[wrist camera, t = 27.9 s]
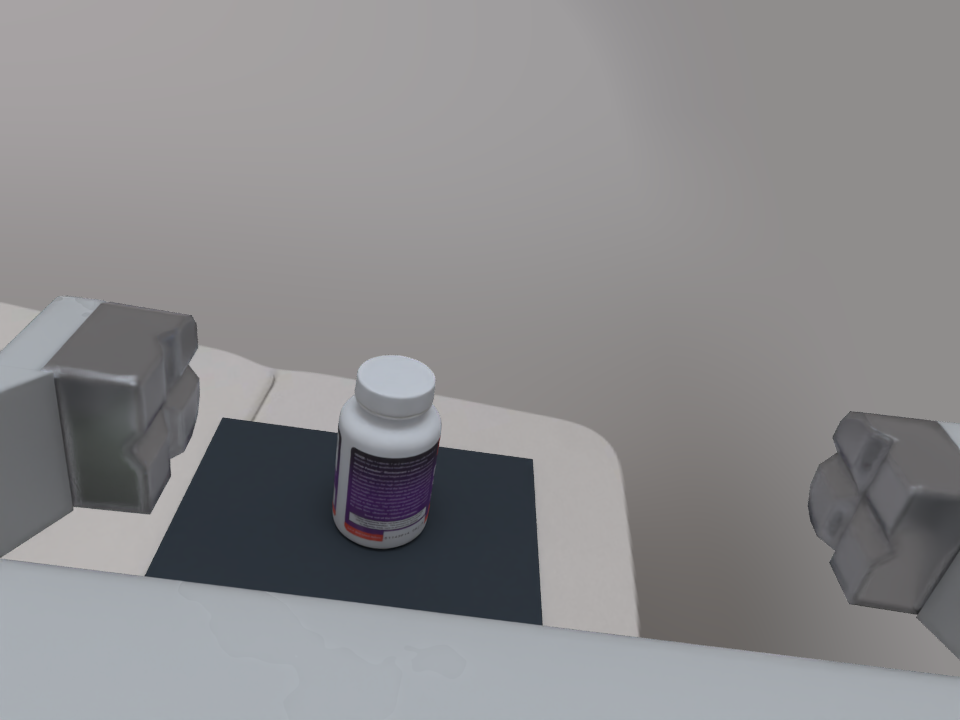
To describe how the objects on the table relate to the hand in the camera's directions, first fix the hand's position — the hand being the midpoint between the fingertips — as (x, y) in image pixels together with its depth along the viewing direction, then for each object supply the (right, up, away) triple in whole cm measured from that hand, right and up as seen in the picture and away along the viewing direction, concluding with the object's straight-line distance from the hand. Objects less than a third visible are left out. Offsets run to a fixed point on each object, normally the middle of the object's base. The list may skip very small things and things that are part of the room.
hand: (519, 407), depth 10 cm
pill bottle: (-6, -8, +36) cm, 37 cm away
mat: (-7, -8, +36) cm, 37 cm away
